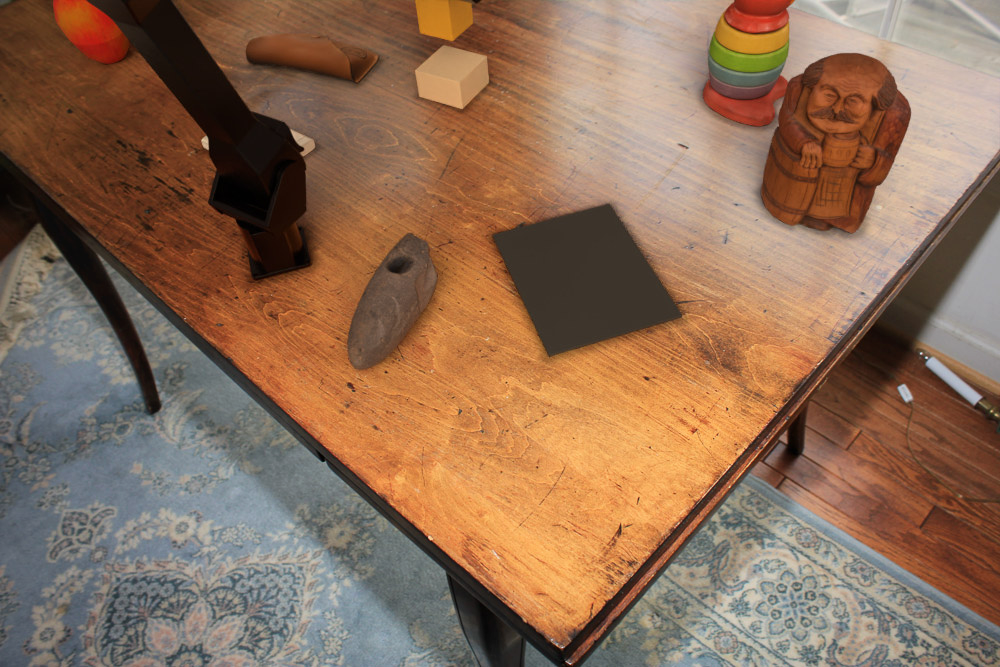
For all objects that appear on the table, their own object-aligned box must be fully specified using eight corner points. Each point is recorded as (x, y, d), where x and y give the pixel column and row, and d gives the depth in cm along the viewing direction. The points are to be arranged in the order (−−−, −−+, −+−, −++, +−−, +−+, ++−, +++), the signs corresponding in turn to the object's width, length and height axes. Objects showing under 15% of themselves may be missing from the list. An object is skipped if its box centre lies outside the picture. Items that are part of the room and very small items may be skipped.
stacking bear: (768, 130, 91) (805, -14, 78) (689, 112, 95) (711, -29, 81) (791, 85, 97) (829, -56, 84) (715, 69, 101) (740, -69, 87)
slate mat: (681, 317, 73) (682, 315, 73) (548, 357, 71) (548, 354, 71) (609, 205, 84) (609, 203, 84) (492, 237, 82) (492, 234, 82)
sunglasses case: (382, 52, 108) (363, 26, 101) (367, 97, 107) (347, 73, 101) (278, 35, 113) (254, 10, 106) (263, 78, 112) (238, 54, 106)
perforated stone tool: (381, 391, 70) (366, 345, 64) (334, 374, 71) (316, 328, 66) (453, 283, 78) (445, 234, 73) (409, 270, 80) (399, 221, 74)
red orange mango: (68, 69, 111) (24, -10, 102) (109, 39, 116) (70, -39, 107) (116, 79, 109) (75, -1, 99) (156, 48, 114) (120, -31, 105)
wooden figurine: (749, 217, 82) (788, 68, 68) (760, 182, 85) (799, 34, 72) (863, 242, 78) (928, 90, 64) (869, 204, 82) (933, 53, 68)
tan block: (462, 109, 98) (459, 82, 95) (419, 96, 101) (414, 70, 98) (489, 82, 102) (487, 55, 99) (446, 71, 105) (443, 44, 102)
